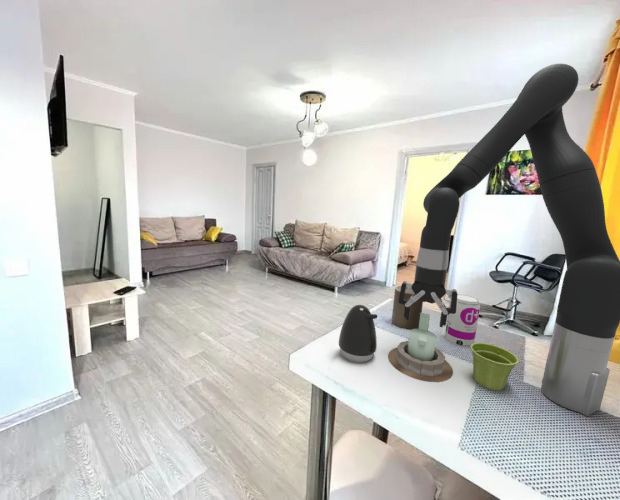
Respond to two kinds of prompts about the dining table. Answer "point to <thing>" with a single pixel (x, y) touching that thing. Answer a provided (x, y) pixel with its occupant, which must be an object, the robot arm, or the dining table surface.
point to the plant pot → (492, 365)
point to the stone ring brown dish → (420, 365)
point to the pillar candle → (399, 310)
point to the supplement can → (463, 321)
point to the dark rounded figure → (358, 335)
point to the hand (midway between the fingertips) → (423, 322)
